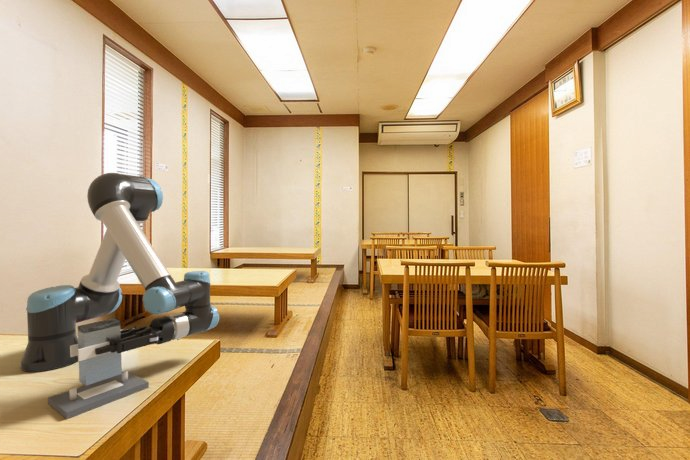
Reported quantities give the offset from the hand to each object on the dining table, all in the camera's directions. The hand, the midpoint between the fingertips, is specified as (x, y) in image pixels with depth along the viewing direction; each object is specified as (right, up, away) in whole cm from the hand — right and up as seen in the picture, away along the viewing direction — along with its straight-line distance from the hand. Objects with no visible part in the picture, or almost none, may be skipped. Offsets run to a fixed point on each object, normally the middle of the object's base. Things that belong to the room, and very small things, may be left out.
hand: (74, 353), depth 85 cm
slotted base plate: (+3, -12, +5) cm, 14 cm away
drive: (+3, -8, +5) cm, 10 cm away
